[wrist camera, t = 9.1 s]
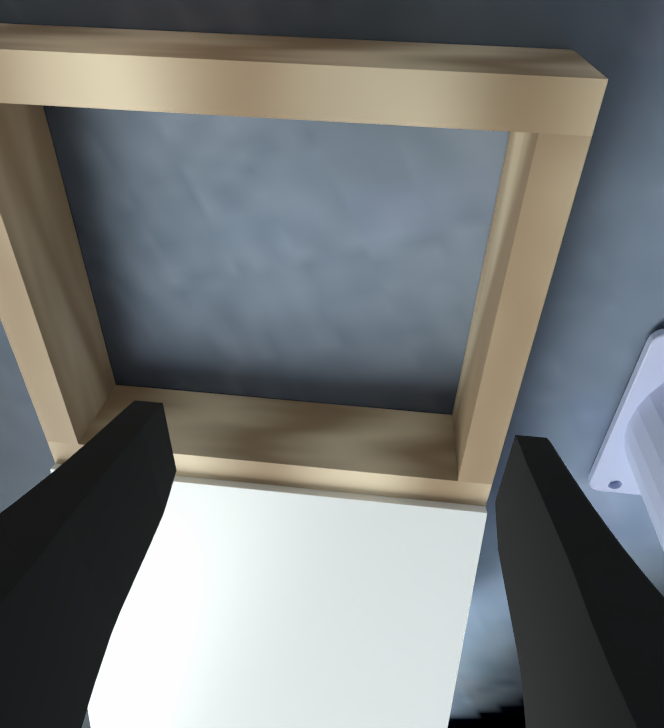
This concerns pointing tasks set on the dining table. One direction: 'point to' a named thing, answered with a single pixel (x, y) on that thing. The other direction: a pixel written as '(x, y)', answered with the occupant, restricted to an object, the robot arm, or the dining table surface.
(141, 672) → the cold frame
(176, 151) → the dining table surface
